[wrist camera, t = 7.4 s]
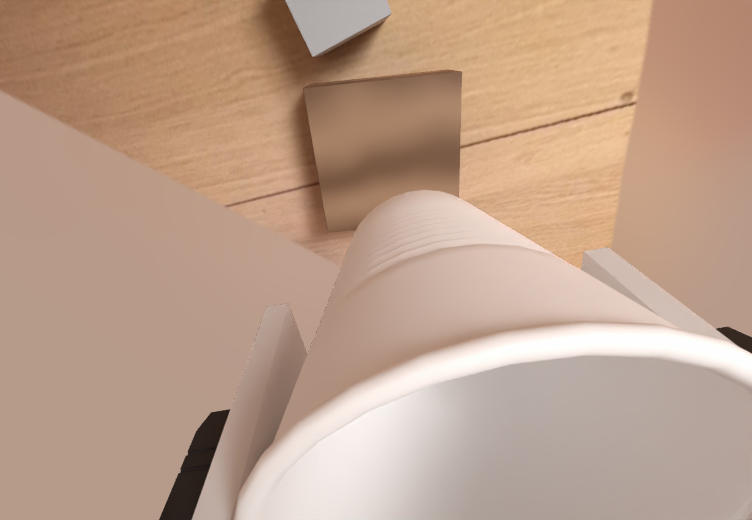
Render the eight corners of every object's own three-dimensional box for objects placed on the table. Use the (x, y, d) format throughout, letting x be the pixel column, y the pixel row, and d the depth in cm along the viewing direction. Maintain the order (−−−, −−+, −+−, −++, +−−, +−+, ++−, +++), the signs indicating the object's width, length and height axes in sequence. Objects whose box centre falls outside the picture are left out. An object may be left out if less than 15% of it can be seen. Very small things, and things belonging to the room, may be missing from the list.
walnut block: (310, 83, 31) (303, 88, 27) (447, 69, 31) (461, 71, 27) (331, 211, 37) (328, 232, 33) (446, 199, 37) (458, 218, 33)
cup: (411, 367, 19) (468, 666, 10) (258, 258, 16) (112, 575, 6) (571, 248, 16) (880, 520, 7) (428, 76, 13) (672, 146, 3)
